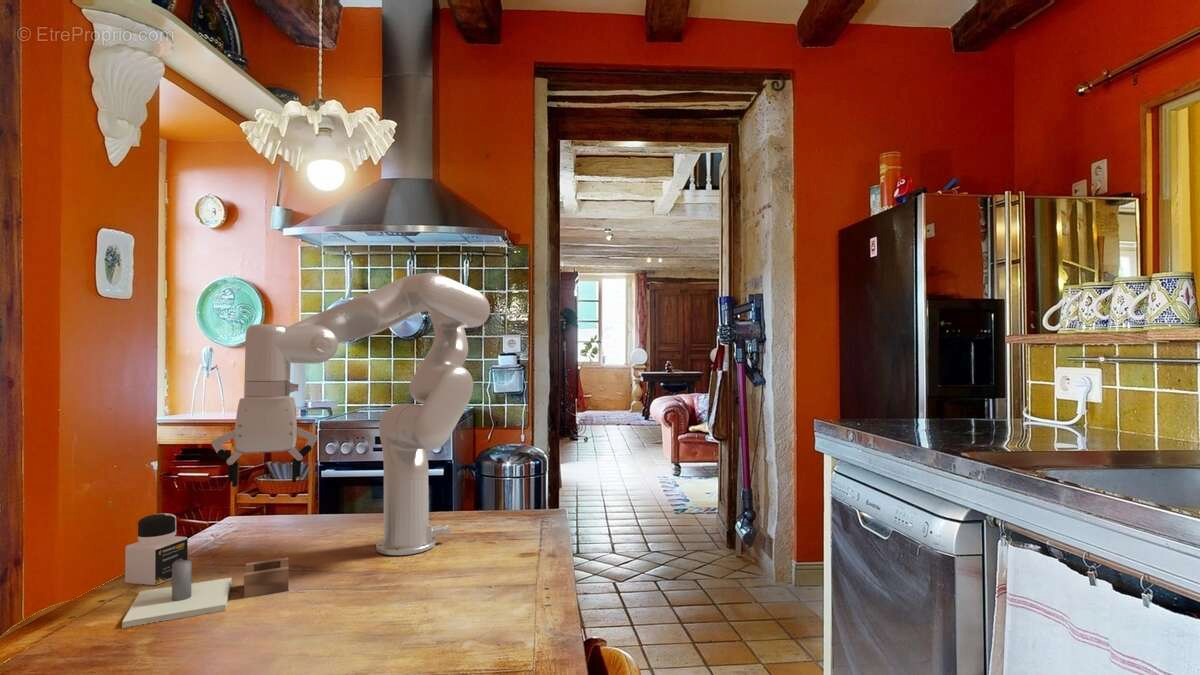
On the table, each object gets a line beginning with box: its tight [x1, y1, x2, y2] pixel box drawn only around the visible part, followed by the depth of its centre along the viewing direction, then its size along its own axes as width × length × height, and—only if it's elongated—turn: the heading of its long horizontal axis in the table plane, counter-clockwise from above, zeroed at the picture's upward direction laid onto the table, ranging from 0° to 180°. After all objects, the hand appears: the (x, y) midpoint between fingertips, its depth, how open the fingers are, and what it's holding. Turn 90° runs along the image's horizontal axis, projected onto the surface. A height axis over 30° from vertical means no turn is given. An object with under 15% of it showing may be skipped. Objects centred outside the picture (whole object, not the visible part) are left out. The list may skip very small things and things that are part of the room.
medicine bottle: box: [124, 512, 189, 586], centre depth 119 cm, size 7×7×12 cm
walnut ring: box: [243, 557, 289, 599], centre depth 114 cm, size 7×7×4 cm
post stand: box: [121, 559, 233, 629], centre depth 107 cm, size 14×14×7 cm
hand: (265, 483), depth 114 cm, fingers open, 9 cm apart
